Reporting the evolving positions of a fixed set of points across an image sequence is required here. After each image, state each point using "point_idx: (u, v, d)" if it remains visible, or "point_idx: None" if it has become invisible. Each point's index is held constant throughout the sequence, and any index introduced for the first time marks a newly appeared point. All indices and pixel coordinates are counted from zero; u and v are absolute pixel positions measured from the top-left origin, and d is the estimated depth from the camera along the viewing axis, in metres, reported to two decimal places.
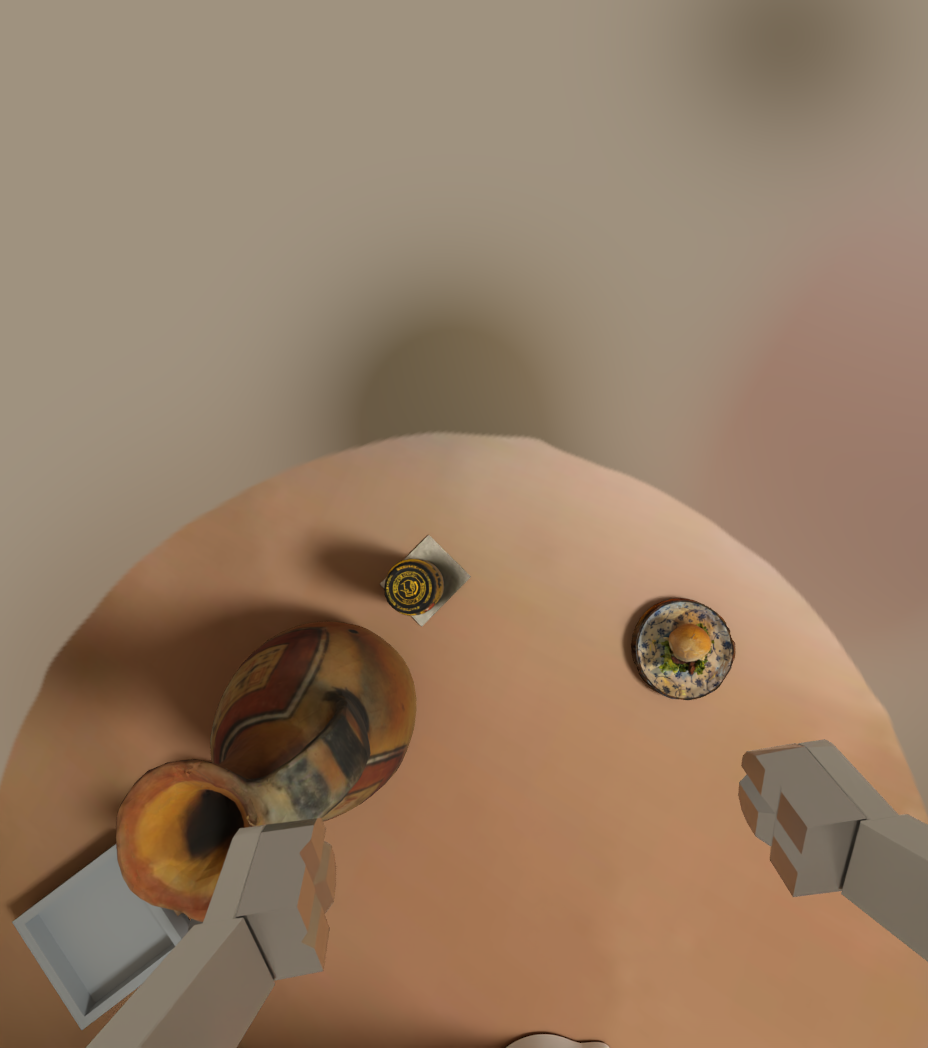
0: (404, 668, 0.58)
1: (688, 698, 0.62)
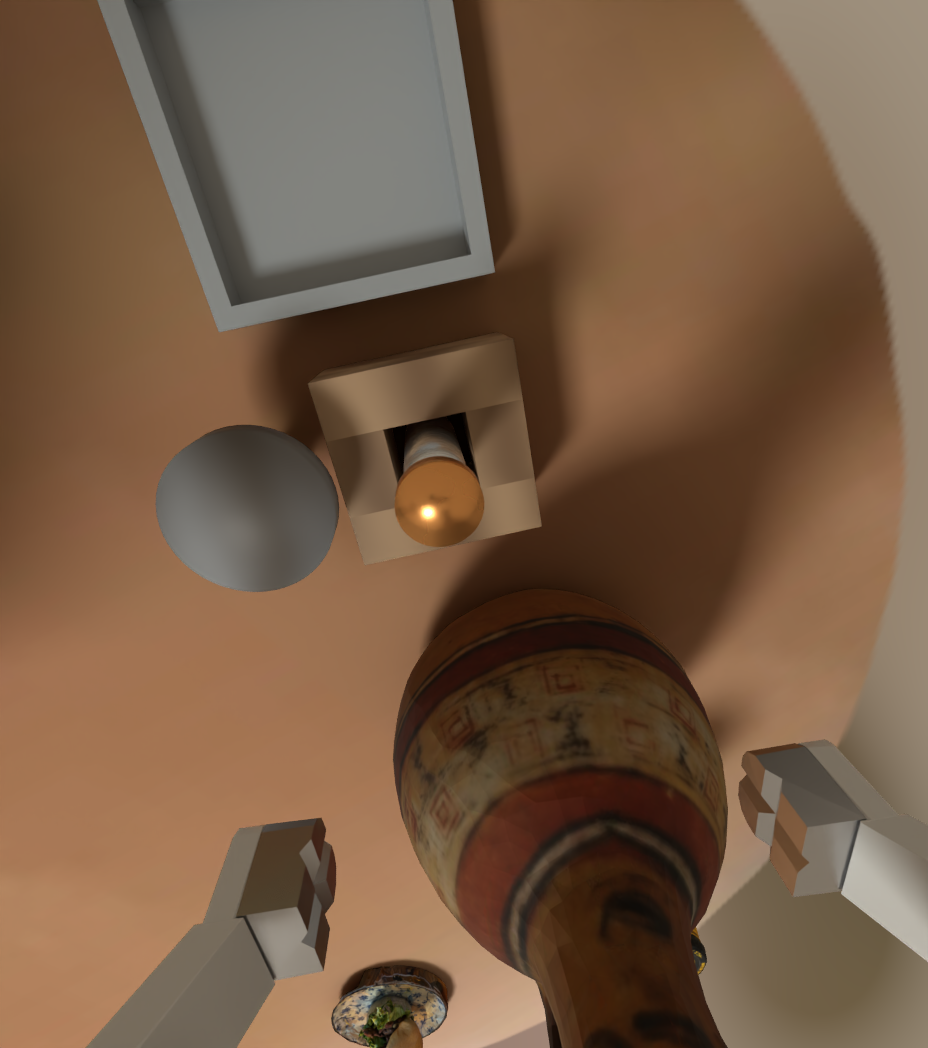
0: None
1: (334, 1009, 0.52)
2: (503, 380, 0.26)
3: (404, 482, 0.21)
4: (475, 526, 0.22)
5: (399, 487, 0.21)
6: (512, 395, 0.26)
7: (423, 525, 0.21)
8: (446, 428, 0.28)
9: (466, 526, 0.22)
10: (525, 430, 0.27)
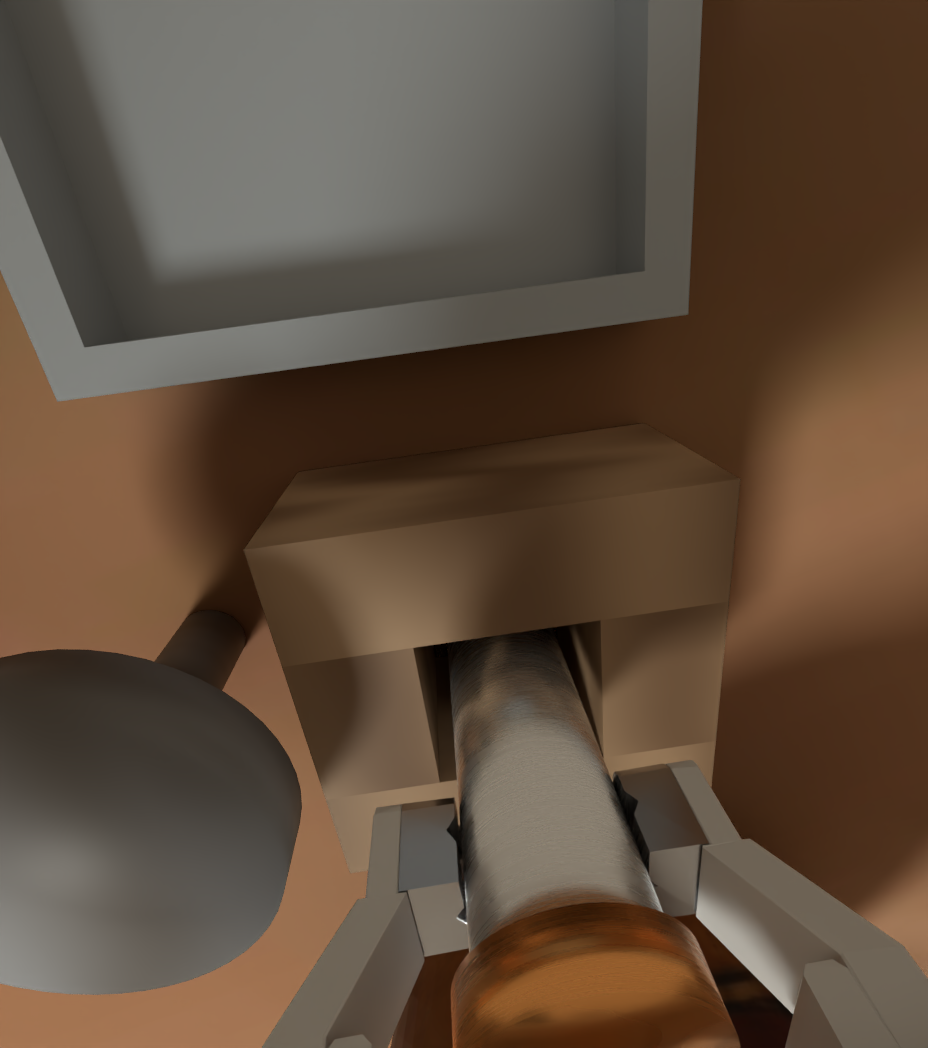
0: None
1: None
2: (696, 563, 0.11)
3: (499, 1038, 0.06)
4: None
5: (479, 1043, 0.06)
6: (708, 593, 0.12)
7: None
8: None
9: None
10: (719, 659, 0.12)
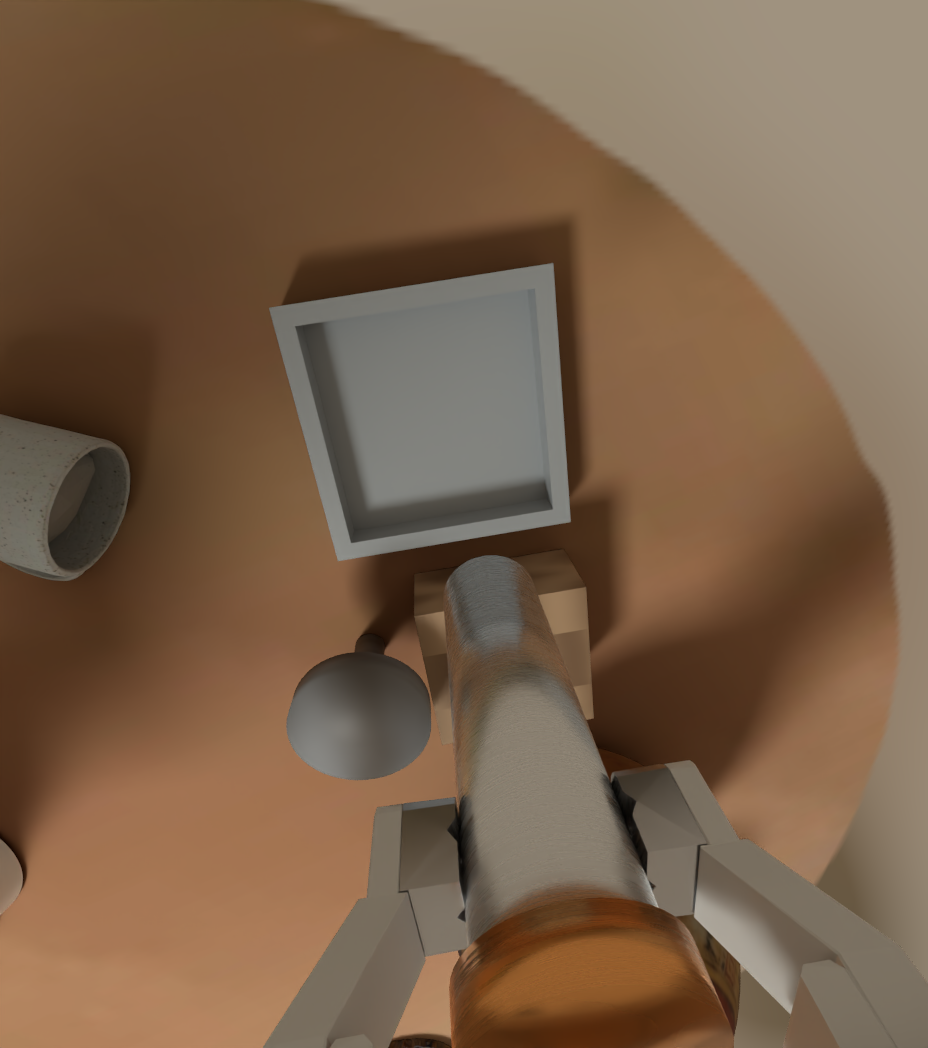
0: None
1: None
2: (574, 615, 0.31)
3: (496, 1030, 0.06)
4: None
5: (477, 1035, 0.06)
6: (580, 626, 0.31)
7: None
8: (539, 625, 0.14)
9: None
10: (588, 650, 0.32)
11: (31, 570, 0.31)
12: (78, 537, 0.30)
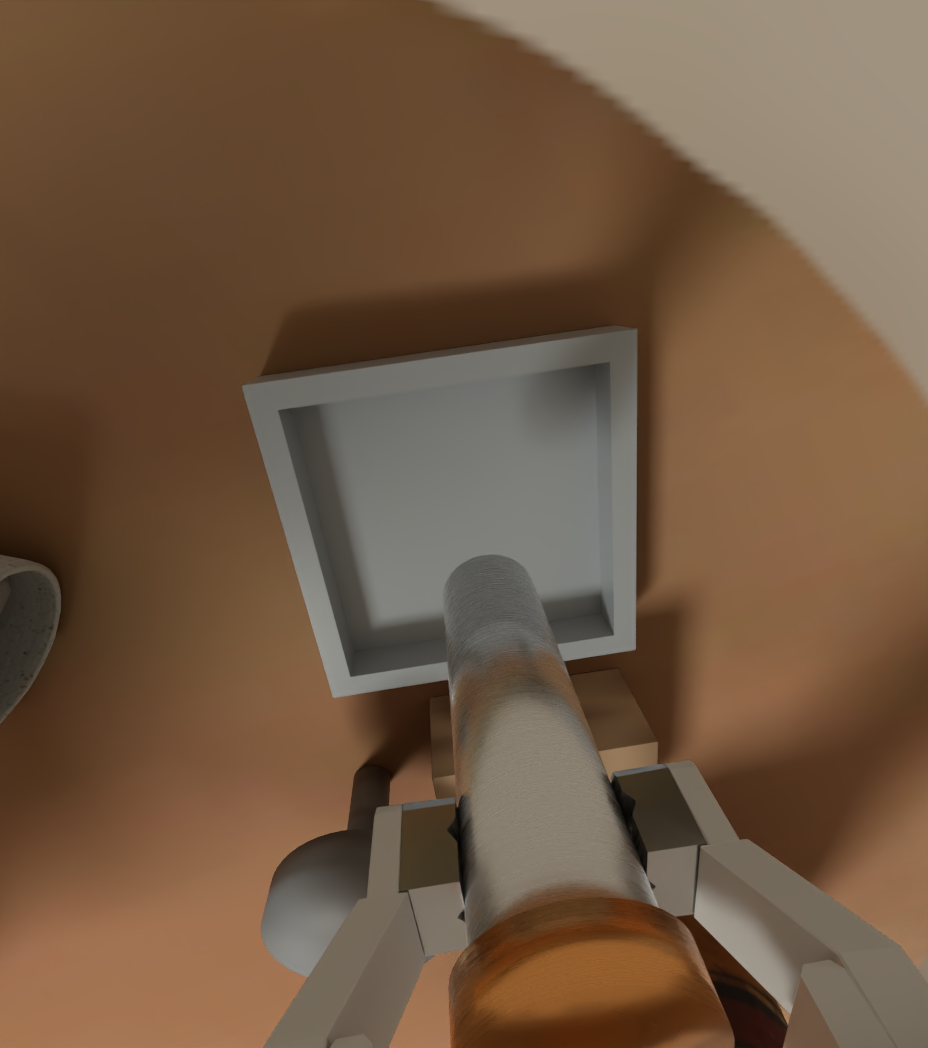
0: None
1: None
2: None
3: (496, 1031, 0.06)
4: None
5: (476, 1036, 0.06)
6: None
7: None
8: (538, 624, 0.14)
9: None
10: None
11: None
12: None
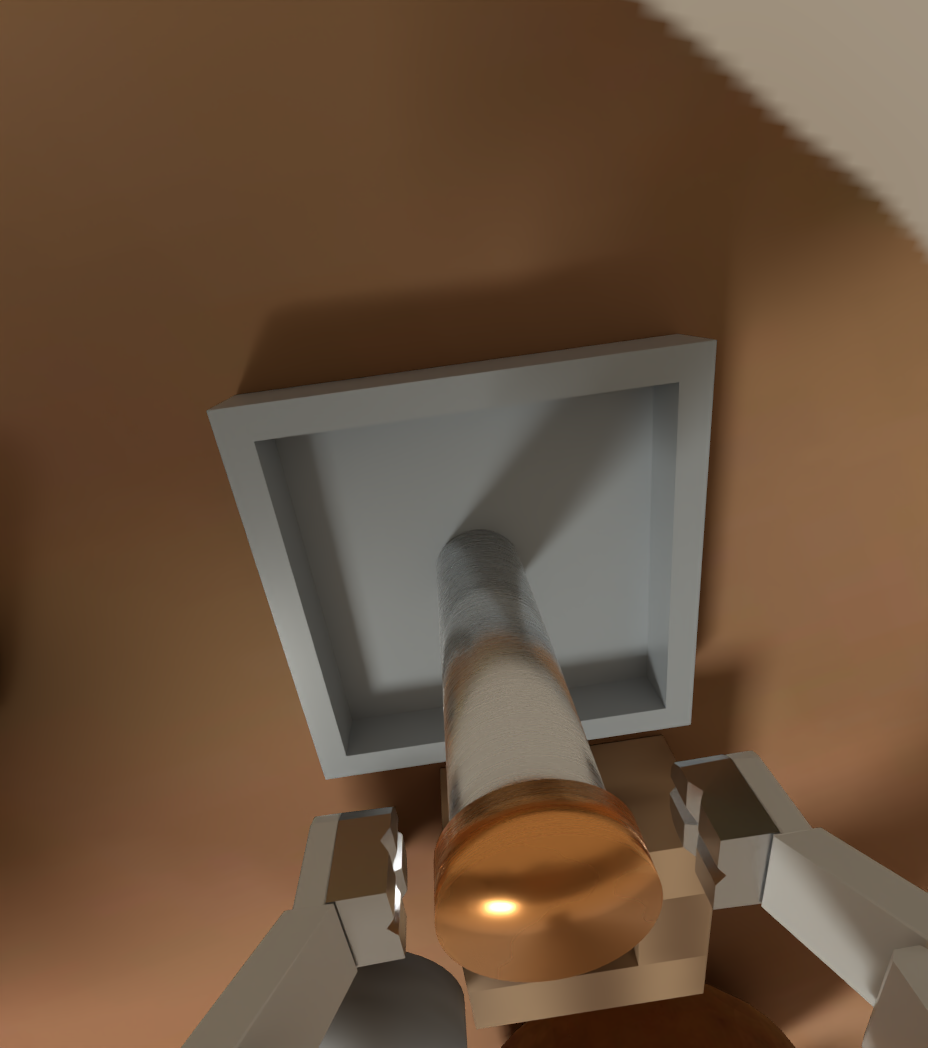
0: None
1: None
2: (695, 876, 0.20)
3: (468, 873, 0.08)
4: (627, 948, 0.09)
5: (453, 880, 0.08)
6: (702, 888, 0.20)
7: (502, 948, 0.09)
8: (520, 586, 0.15)
9: (605, 948, 0.09)
10: (709, 916, 0.21)
11: None
12: None
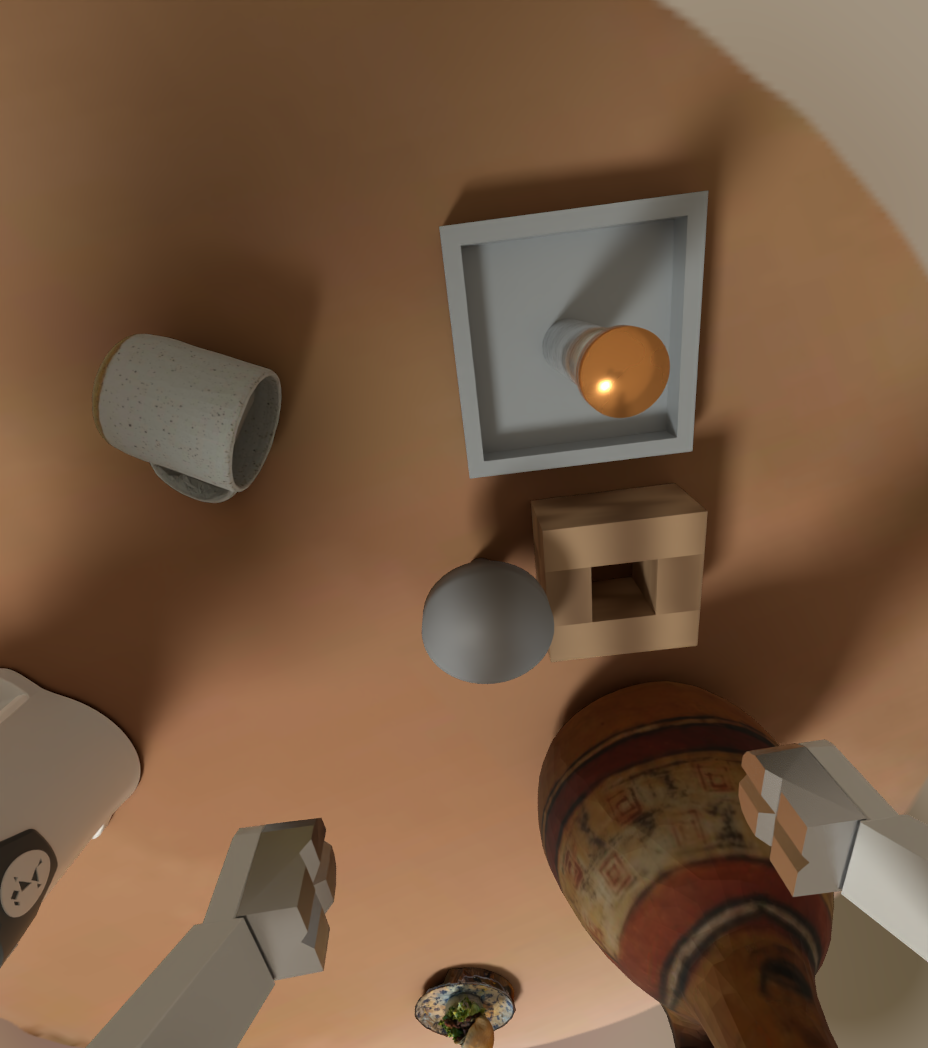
0: None
1: (420, 999, 0.60)
2: (692, 539, 0.33)
3: (597, 343, 0.21)
4: (655, 399, 0.22)
5: (590, 349, 0.21)
6: (697, 550, 0.33)
7: (605, 392, 0.22)
8: None
9: (646, 398, 0.22)
10: (701, 575, 0.34)
11: (186, 491, 0.34)
12: (233, 461, 0.33)
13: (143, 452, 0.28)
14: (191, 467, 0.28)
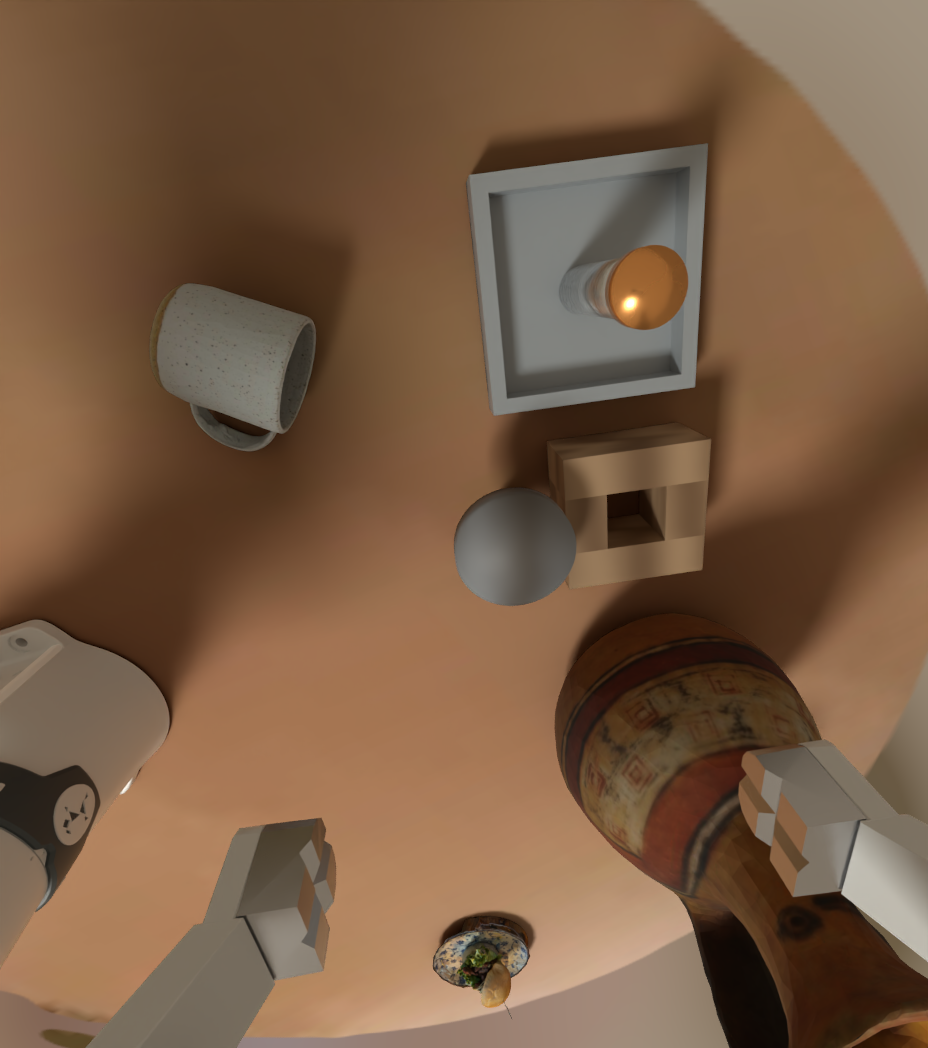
0: None
1: (438, 950, 0.62)
2: (697, 466, 0.36)
3: (626, 260, 0.24)
4: (675, 312, 0.25)
5: (620, 265, 0.24)
6: (701, 477, 0.36)
7: (632, 306, 0.25)
8: None
9: (667, 311, 0.25)
10: (705, 501, 0.37)
11: (224, 440, 0.37)
12: None
13: (196, 392, 0.30)
14: (241, 405, 0.31)
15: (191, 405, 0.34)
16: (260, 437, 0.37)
